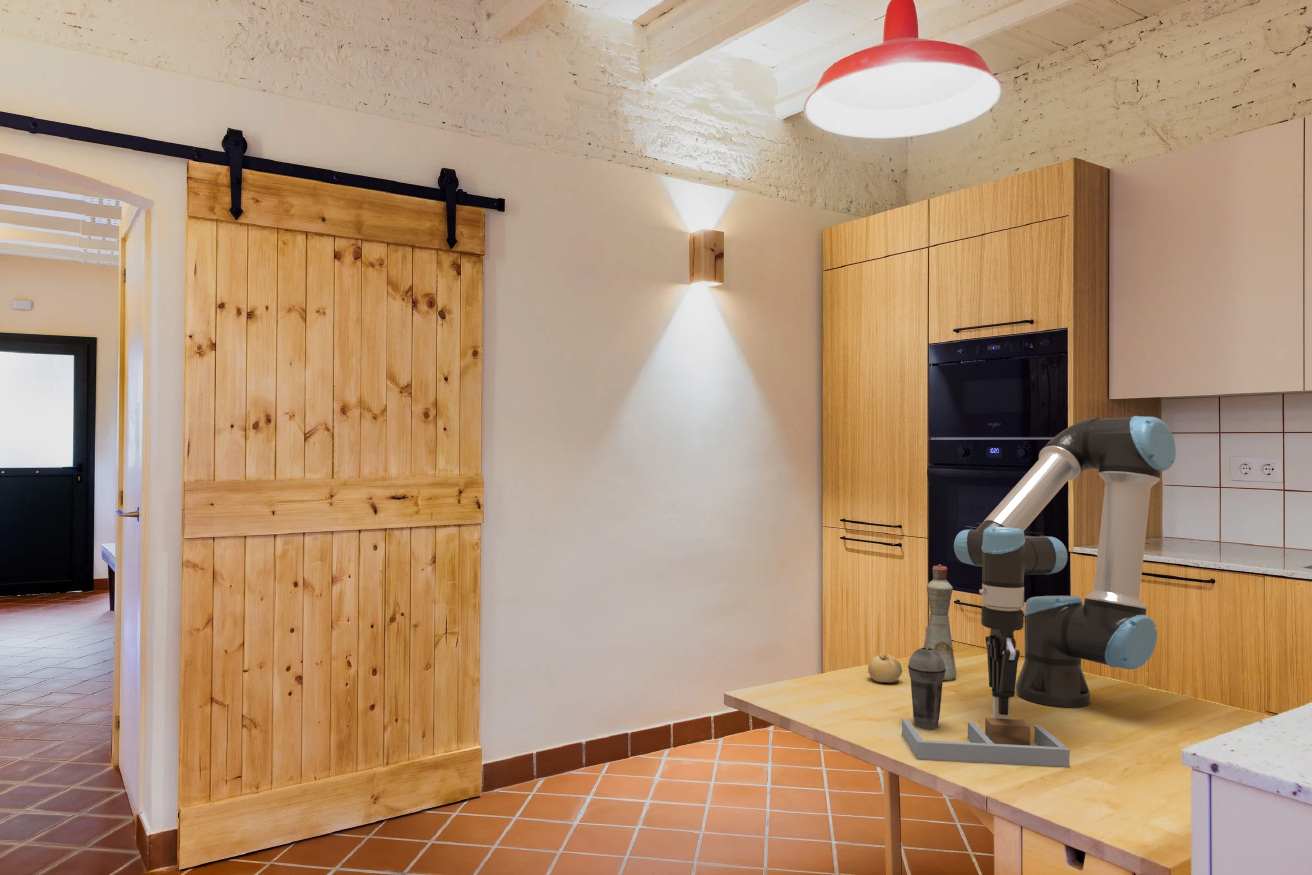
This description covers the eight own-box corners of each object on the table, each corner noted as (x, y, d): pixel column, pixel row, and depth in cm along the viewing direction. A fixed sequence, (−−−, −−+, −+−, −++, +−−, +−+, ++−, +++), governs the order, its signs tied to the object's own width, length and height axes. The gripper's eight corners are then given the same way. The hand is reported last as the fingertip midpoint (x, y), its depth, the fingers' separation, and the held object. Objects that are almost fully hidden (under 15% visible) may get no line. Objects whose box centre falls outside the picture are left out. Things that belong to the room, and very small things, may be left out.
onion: (862, 677, 198) (863, 648, 198) (893, 676, 199) (894, 648, 199) (875, 686, 190) (875, 656, 190) (907, 685, 191) (907, 655, 191)
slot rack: (1040, 741, 153) (1040, 725, 154) (1069, 766, 141) (1069, 749, 141) (901, 734, 156) (902, 718, 156) (917, 758, 143) (917, 741, 143)
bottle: (920, 680, 196) (921, 565, 197) (918, 671, 205) (919, 561, 205) (958, 683, 193) (959, 567, 194) (954, 674, 202) (955, 562, 203)
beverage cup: (945, 722, 164) (945, 624, 164) (945, 733, 157) (946, 631, 157) (907, 718, 166) (908, 621, 167) (906, 729, 159) (907, 627, 160)
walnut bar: (1022, 740, 154) (1022, 719, 154) (1030, 748, 150) (1030, 726, 150) (985, 738, 155) (985, 717, 155) (991, 745, 151) (991, 724, 151)
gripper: (972, 600, 163) (971, 717, 162) (992, 612, 150) (991, 739, 149) (1011, 602, 162) (1009, 720, 161) (1034, 614, 149) (1033, 742, 148)
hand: (1000, 729), depth 155 cm, fingers closed
